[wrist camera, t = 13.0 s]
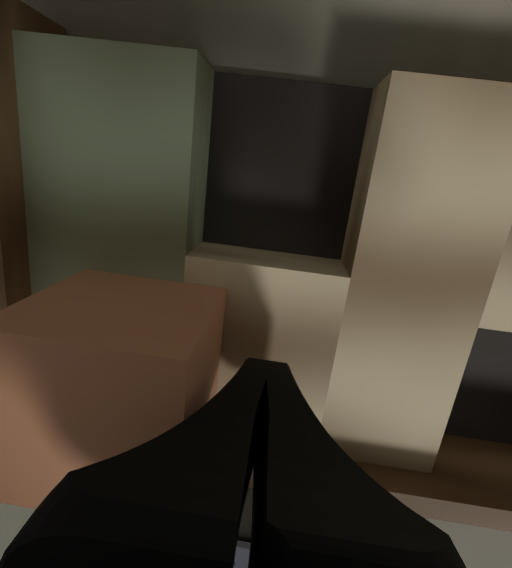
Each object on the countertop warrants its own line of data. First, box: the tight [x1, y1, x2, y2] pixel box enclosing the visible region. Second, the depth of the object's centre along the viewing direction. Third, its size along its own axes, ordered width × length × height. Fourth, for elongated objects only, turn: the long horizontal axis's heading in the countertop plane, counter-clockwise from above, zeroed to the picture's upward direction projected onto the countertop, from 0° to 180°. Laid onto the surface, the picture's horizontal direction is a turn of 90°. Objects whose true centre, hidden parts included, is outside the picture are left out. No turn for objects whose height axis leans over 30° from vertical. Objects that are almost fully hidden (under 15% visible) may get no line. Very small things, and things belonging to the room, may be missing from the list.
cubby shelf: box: [0, 0, 512, 532], centre depth 12 cm, size 14×25×4 cm, turn 83°
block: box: [0, 269, 227, 509], centre depth 10 cm, size 4×4×4 cm
